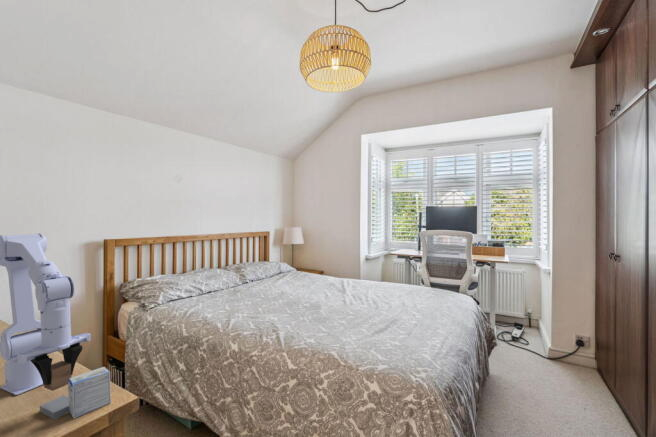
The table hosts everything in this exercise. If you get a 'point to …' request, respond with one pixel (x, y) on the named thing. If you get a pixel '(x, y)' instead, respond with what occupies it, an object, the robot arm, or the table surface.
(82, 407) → the medicine box
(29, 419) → the table surface
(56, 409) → the slate block
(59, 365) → the walnut cube
